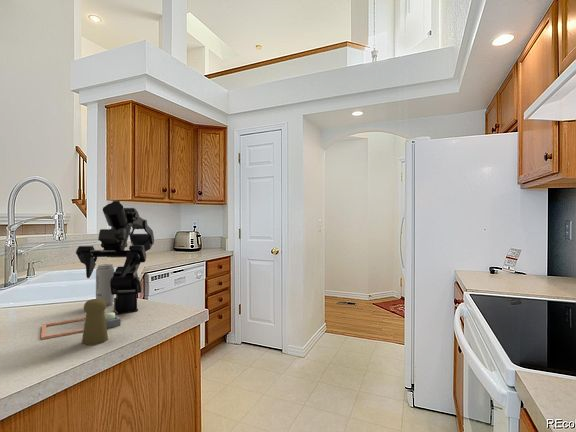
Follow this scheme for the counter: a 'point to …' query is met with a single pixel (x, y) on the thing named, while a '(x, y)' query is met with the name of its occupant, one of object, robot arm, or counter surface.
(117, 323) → the button box
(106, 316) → the button
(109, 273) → the energy drink can
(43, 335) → the terracotta outline
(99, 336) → the olive pepper mill
